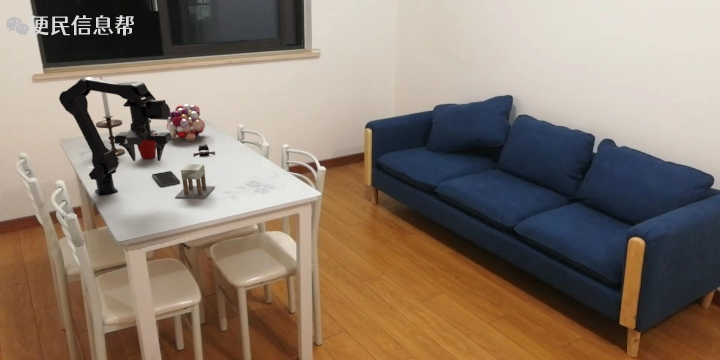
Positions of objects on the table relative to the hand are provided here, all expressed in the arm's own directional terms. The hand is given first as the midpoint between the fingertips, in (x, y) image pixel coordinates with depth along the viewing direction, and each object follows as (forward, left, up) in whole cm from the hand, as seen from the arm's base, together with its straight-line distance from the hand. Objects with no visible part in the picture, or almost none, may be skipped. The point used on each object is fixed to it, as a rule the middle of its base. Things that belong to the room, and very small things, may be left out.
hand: (146, 160), depth 203 cm
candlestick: (-61, +5, -13) cm, 63 cm away
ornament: (-63, +40, -13) cm, 76 cm away
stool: (+9, +13, -12) cm, 20 cm away
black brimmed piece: (-33, +36, -14) cm, 51 cm away
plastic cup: (-45, +15, -13) cm, 49 cm away
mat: (+9, +13, -13) cm, 20 cm away
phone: (-12, +10, -14) cm, 21 cm away
